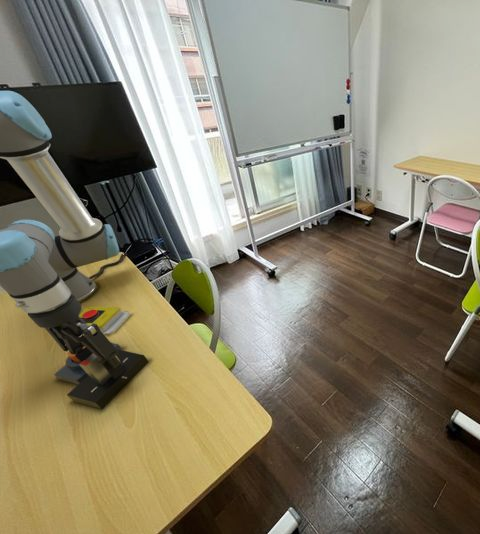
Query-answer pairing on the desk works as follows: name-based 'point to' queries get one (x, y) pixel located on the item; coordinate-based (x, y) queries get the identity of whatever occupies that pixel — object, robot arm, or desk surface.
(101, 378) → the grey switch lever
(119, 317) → the emergency button
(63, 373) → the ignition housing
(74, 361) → the push knob
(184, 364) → the desk surface
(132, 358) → the cooker panel
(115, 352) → the robot arm
